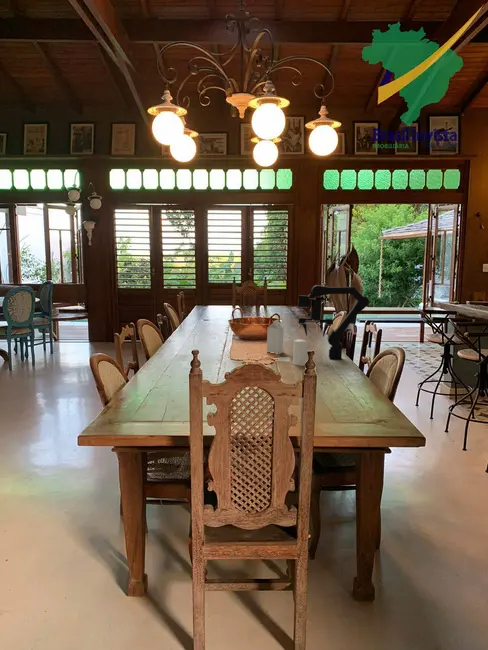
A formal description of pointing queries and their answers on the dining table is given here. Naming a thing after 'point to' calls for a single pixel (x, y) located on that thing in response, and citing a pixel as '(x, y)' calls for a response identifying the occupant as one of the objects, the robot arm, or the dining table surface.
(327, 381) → the dining table surface
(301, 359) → the white cylinder
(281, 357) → the mat
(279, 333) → the milk carton
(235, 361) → the dining table surface
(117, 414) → the dining table surface
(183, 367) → the dining table surface
